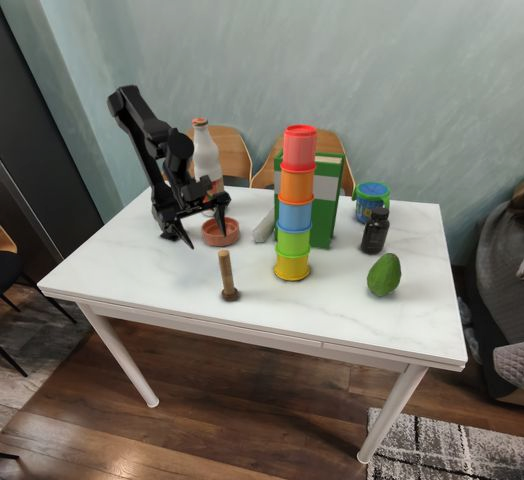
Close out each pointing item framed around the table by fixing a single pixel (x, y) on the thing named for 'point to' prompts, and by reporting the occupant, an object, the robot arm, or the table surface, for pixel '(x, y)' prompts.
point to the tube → (264, 227)
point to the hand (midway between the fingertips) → (209, 243)
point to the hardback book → (317, 196)
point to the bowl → (214, 234)
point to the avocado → (384, 275)
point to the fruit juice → (206, 159)
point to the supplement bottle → (375, 231)
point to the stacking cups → (295, 202)
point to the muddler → (227, 276)
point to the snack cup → (370, 199)
